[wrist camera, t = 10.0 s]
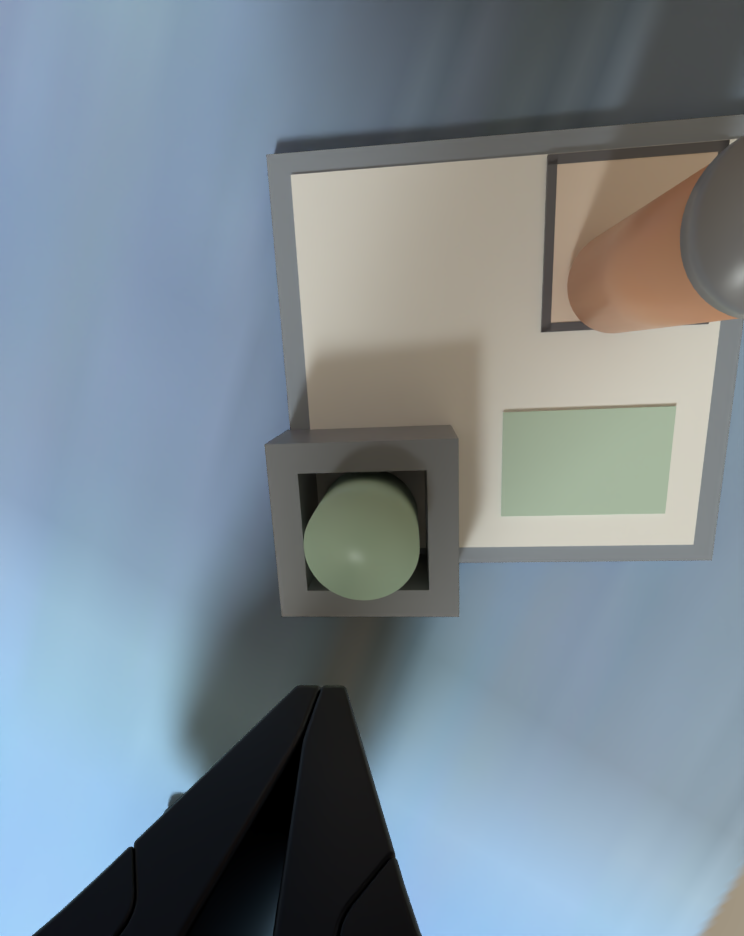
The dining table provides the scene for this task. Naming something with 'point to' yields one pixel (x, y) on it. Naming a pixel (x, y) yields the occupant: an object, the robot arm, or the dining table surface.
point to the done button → (364, 536)
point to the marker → (669, 257)
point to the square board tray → (490, 357)
